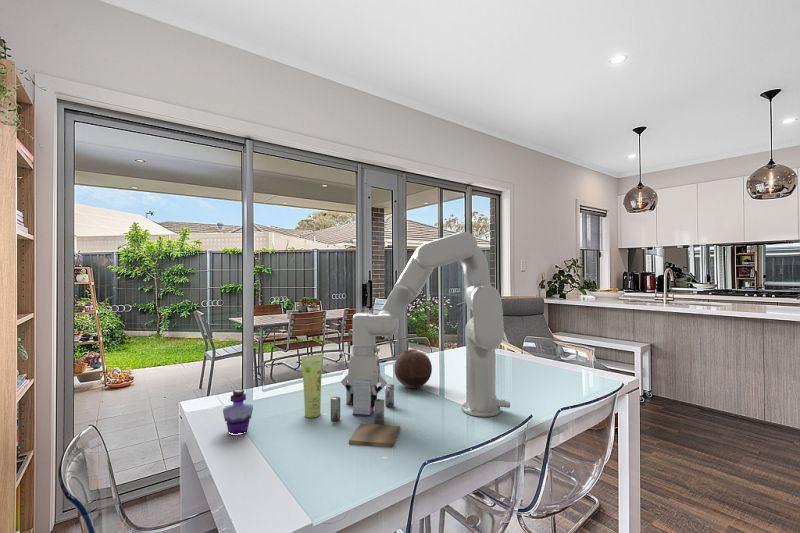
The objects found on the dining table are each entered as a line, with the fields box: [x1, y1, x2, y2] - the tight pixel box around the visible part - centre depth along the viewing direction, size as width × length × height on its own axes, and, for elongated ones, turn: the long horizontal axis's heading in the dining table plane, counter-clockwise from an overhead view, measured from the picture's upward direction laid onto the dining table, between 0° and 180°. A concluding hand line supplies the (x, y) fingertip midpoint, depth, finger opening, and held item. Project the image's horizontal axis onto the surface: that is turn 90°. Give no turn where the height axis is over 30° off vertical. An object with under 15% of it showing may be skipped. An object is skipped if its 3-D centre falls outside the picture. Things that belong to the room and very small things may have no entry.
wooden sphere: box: [394, 348, 433, 389], centre depth 159 cm, size 15×15×15 cm
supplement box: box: [352, 380, 374, 417], centre depth 130 cm, size 6×6×12 cm
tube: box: [300, 353, 324, 419], centre depth 128 cm, size 6×5×20 cm
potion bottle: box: [222, 389, 254, 434], centre depth 115 cm, size 9×9×12 cm
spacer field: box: [330, 383, 395, 425], centre depth 130 cm, size 17×19×7 cm
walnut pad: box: [348, 422, 401, 448], centre depth 112 cm, size 12×12×1 cm
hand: (363, 405), depth 130 cm, fingers closed on supplement box, 5 cm apart
